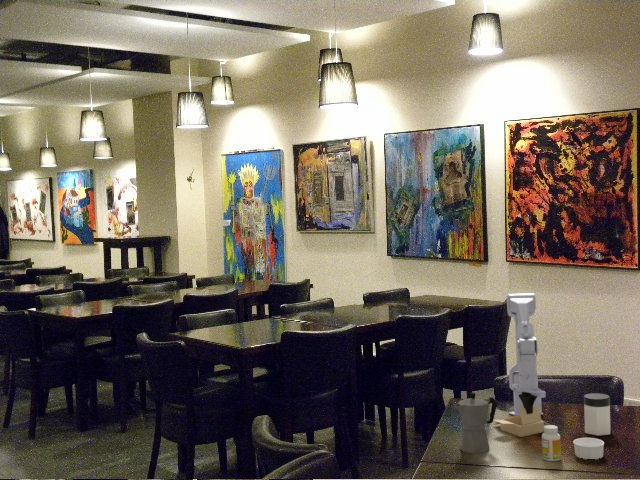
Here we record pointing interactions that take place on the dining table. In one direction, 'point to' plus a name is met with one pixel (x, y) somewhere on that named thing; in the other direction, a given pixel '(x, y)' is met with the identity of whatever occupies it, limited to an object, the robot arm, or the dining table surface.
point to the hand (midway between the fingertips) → (528, 415)
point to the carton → (522, 427)
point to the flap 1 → (503, 422)
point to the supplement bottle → (551, 443)
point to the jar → (597, 414)
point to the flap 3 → (530, 416)
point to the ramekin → (588, 448)
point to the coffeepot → (475, 423)
